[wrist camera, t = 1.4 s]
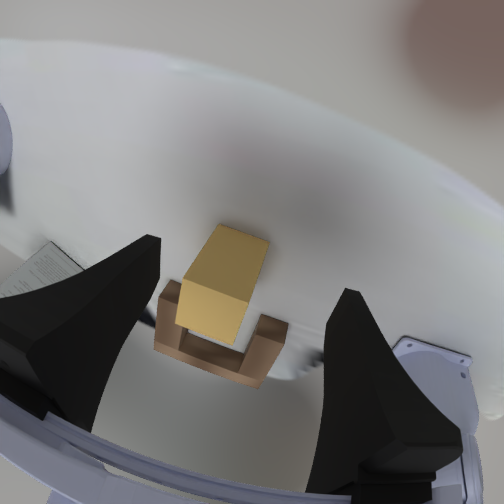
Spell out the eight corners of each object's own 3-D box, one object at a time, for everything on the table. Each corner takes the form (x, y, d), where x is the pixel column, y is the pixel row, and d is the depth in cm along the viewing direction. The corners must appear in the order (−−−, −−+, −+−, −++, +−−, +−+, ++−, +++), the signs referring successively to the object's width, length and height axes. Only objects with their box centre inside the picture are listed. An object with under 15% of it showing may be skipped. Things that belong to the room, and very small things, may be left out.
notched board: (288, 323, 27) (284, 344, 25) (263, 370, 32) (258, 389, 29) (170, 279, 28) (158, 296, 26) (163, 332, 32) (153, 349, 30)
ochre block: (269, 242, 24) (248, 303, 18) (254, 282, 26) (232, 345, 20) (218, 223, 24) (182, 278, 18) (208, 265, 26) (174, 323, 20)
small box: (43, 273, 32) (-26, 343, 22) (50, 239, 29) (-33, 314, 18) (92, 315, 34) (30, 396, 23) (105, 286, 30) (31, 378, 20)
